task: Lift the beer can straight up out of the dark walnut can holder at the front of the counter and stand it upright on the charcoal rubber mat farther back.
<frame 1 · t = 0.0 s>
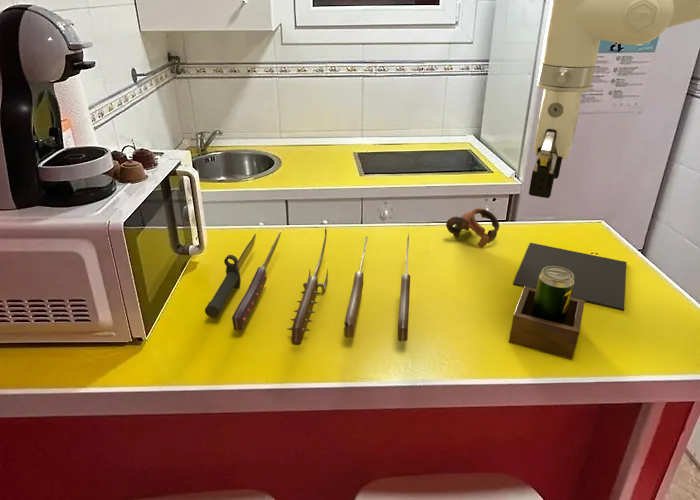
hand: (543, 186, 85), 24 cm above the counter, tool pointing down, fingers open, 9 cm apart
knife set: (317, 293, 100), on the counter
brown curved piece: (469, 240, 121), on the counter
beer can: (543, 335, 89), resting in can holder
can holder: (544, 334, 89), on the counter
mat: (571, 273, 107), on the counter
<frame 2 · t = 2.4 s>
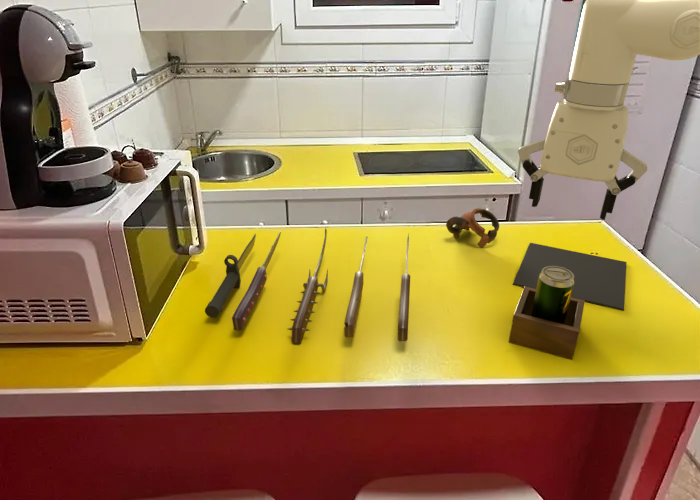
hand: (568, 210, 78), 23 cm above the counter, tool pointing down, fingers open, 9 cm apart
nothing on the counter moved.
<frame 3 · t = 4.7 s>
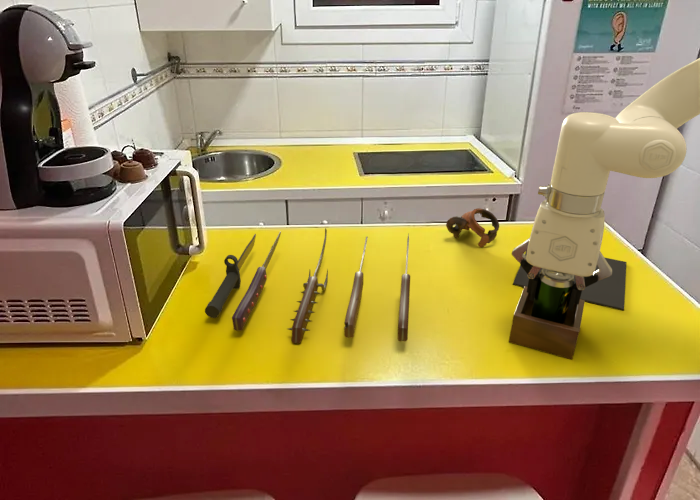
hand: (551, 300, 85), 7 cm above the counter, tool pointing down, fingers closed on beer can, 5 cm apart
beer can: (543, 335, 89), resting in can holder, touching gripper
everything else where it was.
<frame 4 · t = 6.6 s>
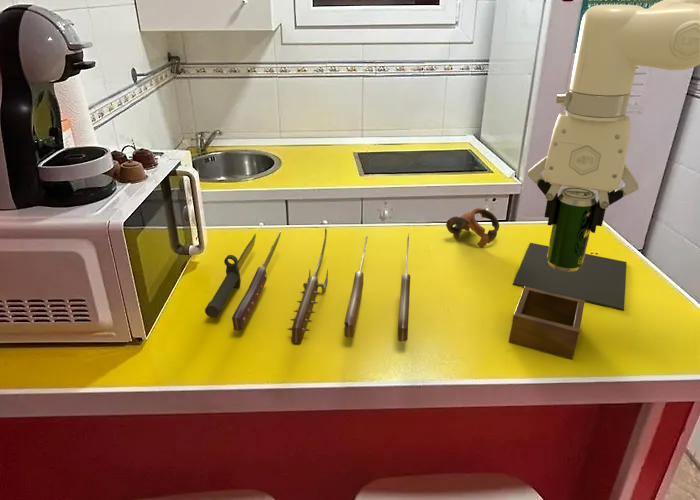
hand: (571, 224, 79), 21 cm above the counter, tool pointing down, fingers closed on beer can, 5 cm apart
beer can: (563, 265, 82), point 14 cm above the counter, touching gripper
everything else where it was.
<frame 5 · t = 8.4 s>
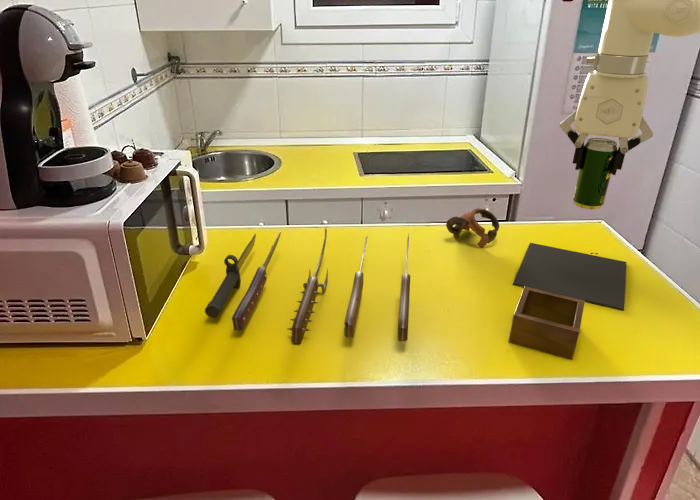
hand: (595, 169, 94), 23 cm above the counter, tool pointing down, fingers closed on beer can, 5 cm apart
beer can: (587, 205, 97), point 16 cm above the counter, touching gripper
everything else where it was.
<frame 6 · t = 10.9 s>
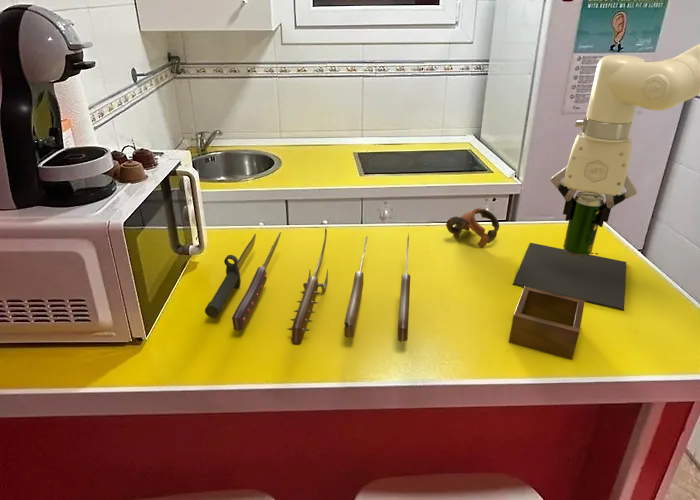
hand: (584, 220, 101), 12 cm above the counter, tool pointing down, fingers closed on beer can, 5 cm apart
beer can: (576, 252, 105), point 5 cm above the counter, touching gripper
everything else where it was.
when the fingers open (7 cm above the counter, at t = 12.5 s): beer can stays where it is, resting on mat.
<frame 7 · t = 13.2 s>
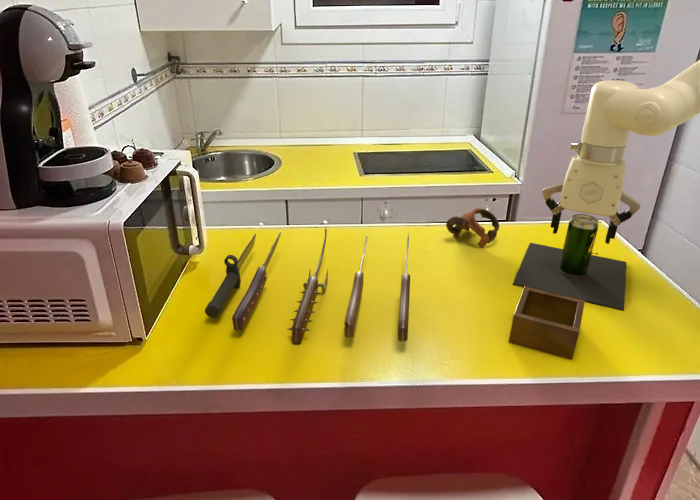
hand: (580, 236, 103), 9 cm above the counter, tool pointing down, fingers open, 9 cm apart
beer can: (572, 272, 107), resting on mat
everything else where it was.
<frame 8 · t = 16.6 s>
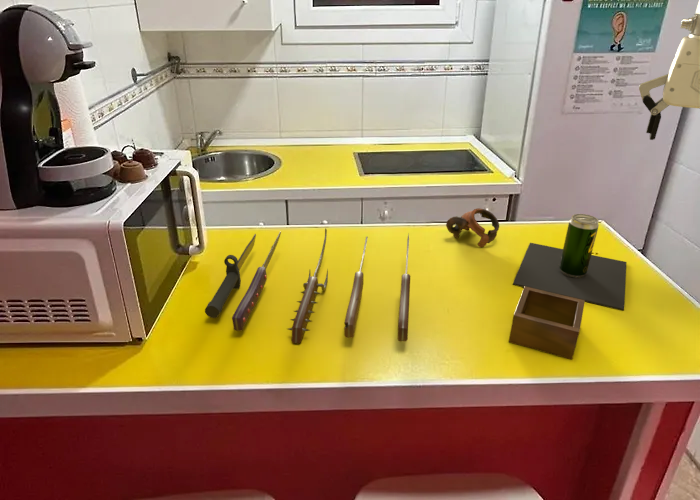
hand: (684, 141, 85), 30 cm above the counter, tool pointing down, fingers open, 9 cm apart
nothing on the counter moved.
at the end: beer can inside the target area on the mat (0.1 cm from its centre), point 0.2 cm above the mat's base; beer can tilted 0°; the gripper is holding nothing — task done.
